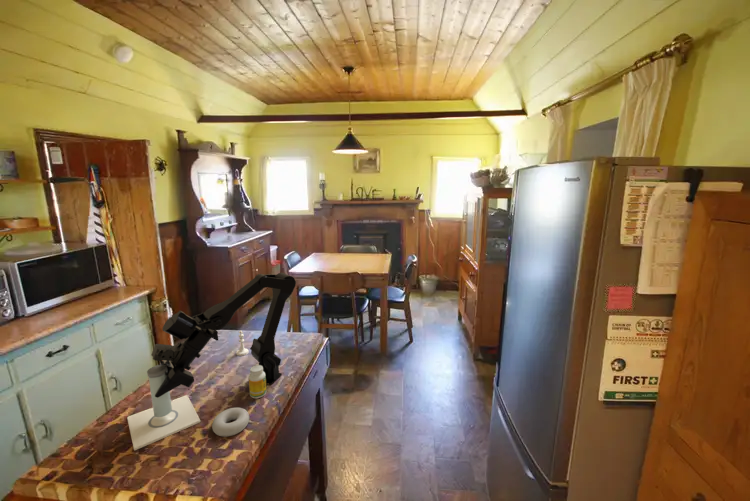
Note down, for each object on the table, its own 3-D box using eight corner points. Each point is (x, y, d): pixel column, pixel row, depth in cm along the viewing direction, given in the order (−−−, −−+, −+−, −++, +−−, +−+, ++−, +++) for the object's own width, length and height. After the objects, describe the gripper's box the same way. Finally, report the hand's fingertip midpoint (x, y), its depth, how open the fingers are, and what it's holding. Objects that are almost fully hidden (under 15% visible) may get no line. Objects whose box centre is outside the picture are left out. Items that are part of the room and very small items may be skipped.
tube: (174, 405, 99) (169, 363, 96) (169, 416, 94) (163, 372, 91) (157, 407, 98) (151, 365, 95) (150, 418, 93) (144, 374, 90)
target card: (187, 396, 107) (187, 394, 107) (200, 422, 96) (200, 420, 96) (127, 418, 97) (127, 416, 97) (134, 450, 85) (133, 448, 85)
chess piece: (244, 356, 133) (242, 333, 131) (233, 355, 134) (231, 332, 132) (251, 350, 138) (249, 328, 136) (240, 349, 139) (239, 327, 137)
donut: (253, 414, 100) (220, 415, 99) (253, 404, 99) (219, 405, 98) (244, 438, 90) (206, 440, 89) (243, 428, 90) (205, 429, 89)
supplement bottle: (249, 390, 111) (248, 365, 109) (266, 387, 113) (264, 362, 111) (249, 400, 106) (247, 373, 104) (266, 397, 108) (265, 370, 106)
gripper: (163, 323, 101) (123, 368, 96) (176, 345, 87) (131, 399, 82) (193, 339, 107) (158, 382, 102) (210, 361, 94) (171, 412, 89)
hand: (154, 392), depth 94 cm, fingers closed on tube, 4 cm apart
